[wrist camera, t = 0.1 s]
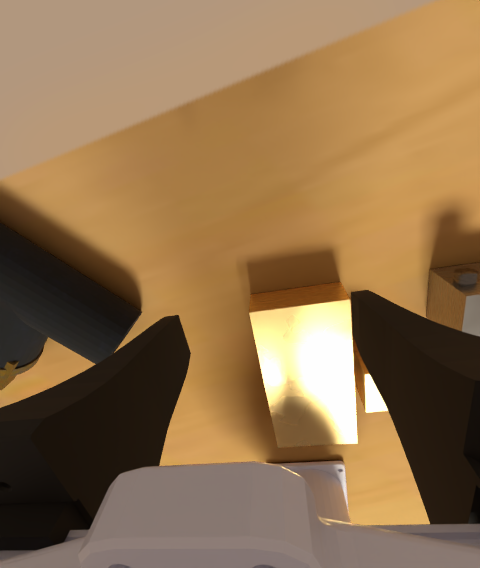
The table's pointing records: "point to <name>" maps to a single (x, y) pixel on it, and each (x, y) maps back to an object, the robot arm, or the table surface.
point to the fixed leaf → (455, 297)
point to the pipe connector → (52, 308)
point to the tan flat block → (311, 365)
